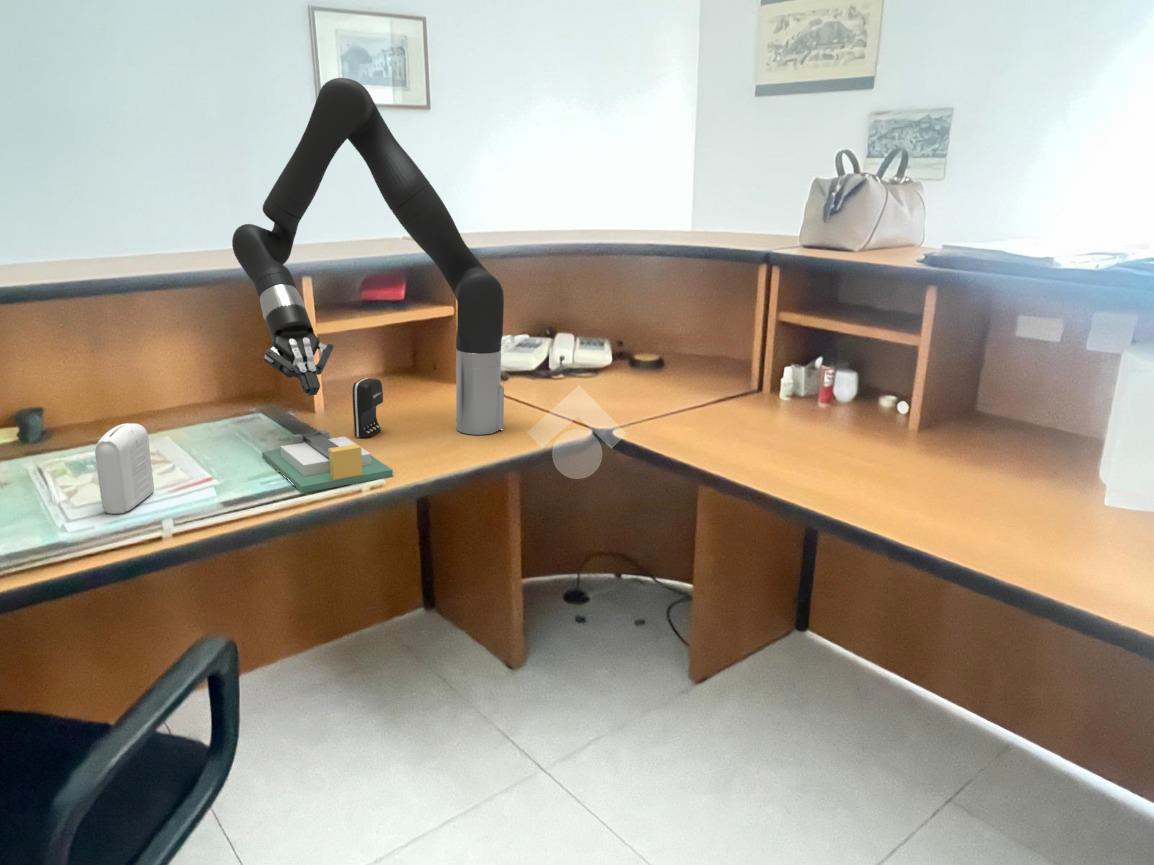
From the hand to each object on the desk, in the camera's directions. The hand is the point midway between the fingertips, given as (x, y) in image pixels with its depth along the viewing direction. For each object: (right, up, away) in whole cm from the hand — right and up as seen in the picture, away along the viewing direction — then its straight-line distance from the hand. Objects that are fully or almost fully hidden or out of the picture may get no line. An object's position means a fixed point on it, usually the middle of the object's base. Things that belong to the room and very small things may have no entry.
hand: (313, 392), depth 144 cm
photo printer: (-23, -18, -19) cm, 35 cm away
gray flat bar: (+2, -10, -1) cm, 11 cm away
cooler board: (+2, -13, 0) cm, 14 cm away
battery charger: (+5, -8, +20) cm, 22 cm away
